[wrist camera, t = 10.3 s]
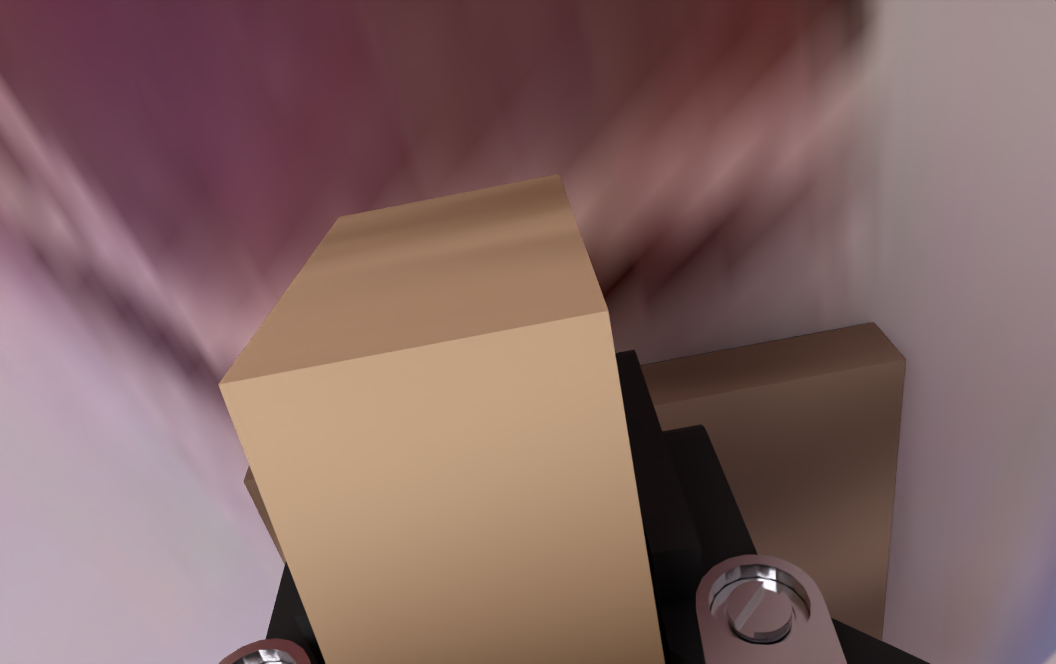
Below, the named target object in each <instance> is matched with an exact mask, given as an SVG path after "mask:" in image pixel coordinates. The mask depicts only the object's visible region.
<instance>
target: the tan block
mask: <svg viewBox="0 0 1056 664" xmlns="http://www.w3.org/2000/svg"><path fill="white" fill-rule="evenodd" d="M218 385H219V388H220V390H221V393H222V395H223V398H224V401H225V403H226V406H227V408H228V411H229V413H230V416H231V419H232V421H233V424H234V426H235V429H236V432H237V434H238V437H239V439H240V442H241V445H242V447H243V450H244V452H245V455H246V458H247V460H248V463H249V465H250V468H251V471H252V473H253V476H254V478H255V481H256V484H257V486H258V489H259V491H260V494H261V497H262V499H263V502H264V504H265V507H266V510H267V512H268V515H269V517H270V520H271V523H272V525H273V528H274V530H275V533H276V535H277V538H278V541H279V543H280V546H281V548H282V551H283V554H284V556H285V559H286V561H287V564H288V567H289V569H290V572H291V574H292V577H293V580H294V582H295V585H296V587H297V590H298V593H299V595H300V598H301V600H302V603H303V606H304V608H305V611H306V613H307V616H308V619H309V621H310V624H311V626H312V629H313V632H314V634H315V637H316V639H317V642H318V645H319V647H320V650H321V652H322V655H323V658H324V660H325V663H326V664H665V661H664V655H663V649H662V642H661V636H660V630H659V624H658V617H657V611H656V605H655V599H654V593H653V586H652V580H651V574H650V568H649V561H648V555H647V549H646V543H645V536H644V530H643V524H642V518H641V511H640V505H639V499H638V493H637V487H636V480H635V474H634V468H633V462H632V455H631V449H630V443H629V437H628V431H627V424H626V418H625V412H624V406H623V399H622V393H621V387H620V381H619V374H618V368H617V362H616V356H615V350H614V343H613V337H612V331H611V325H610V318H609V312H608V309H607V306H606V303H605V300H604V297H603V295H602V292H601V289H600V286H599V284H598V281H597V278H596V275H595V273H594V270H593V267H592V264H591V261H590V259H589V256H588V253H587V250H586V248H585V245H584V242H583V239H582V236H581V234H580V231H579V228H578V225H577V223H576V220H575V217H574V214H573V211H572V209H571V206H570V203H569V200H568V198H567V195H566V192H565V189H564V187H563V184H562V181H561V178H560V175H559V174H556V175H551V176H545V177H540V178H535V179H530V180H525V181H520V182H515V183H510V184H505V185H500V186H495V187H490V188H484V189H479V190H474V191H469V192H464V193H459V194H454V195H449V196H444V197H439V198H434V199H429V200H423V201H418V202H413V203H408V204H403V205H398V206H393V207H388V208H383V209H378V210H373V211H368V212H362V213H357V214H352V215H347V216H342V217H339V218H338V219H337V221H336V222H335V223H334V225H333V226H332V227H331V229H330V230H329V232H328V233H327V234H326V236H325V237H324V239H323V240H322V241H321V243H320V244H319V246H318V247H317V248H316V250H315V251H314V252H313V254H312V255H311V257H310V258H309V259H308V261H307V262H306V264H305V265H304V266H303V268H302V269H301V271H300V272H299V273H298V275H297V276H296V277H295V279H294V280H293V282H292V283H291V284H290V286H289V287H288V289H287V290H286V291H285V293H284V294H283V296H282V297H281V298H280V300H279V301H278V302H277V304H276V305H275V307H274V308H273V309H272V311H271V312H270V314H269V315H268V316H267V318H266V319H265V321H264V322H263V323H262V325H261V326H260V327H259V329H258V330H257V332H256V333H255V334H254V336H253V337H252V339H251V340H250V341H249V343H248V344H247V346H246V347H245V348H244V350H243V351H242V352H241V354H240V355H239V357H238V358H237V359H236V361H235V362H234V364H233V365H232V366H231V368H230V369H229V371H228V372H227V373H226V375H225V376H224V377H223V379H222V380H221V382H220V383H219V384H218Z"/></svg>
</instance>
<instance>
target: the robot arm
mask: <svg viewBox="0 0 1056 664" xmlns="http://www.w3.org/2000/svg"><path fill="white" fill-rule="evenodd" d="M615 356H616V362H617V368H618V374H619V381H620V387H621V393H622V399H623V406H624V412H625V418H626V424H627V431H628V437H629V443H630V449H631V455H632V462H633V468H634V474H635V480H636V487H637V493H638V499H639V505H640V511H641V518H642V524H643V530H644V536H645V543H646V549H647V555H648V561H649V568H650V574H651V580H652V586H653V593H654V599H655V605H656V611H657V617H658V624H659V630H660V636H661V642H662V649H663V655H664V661H665V664H930V663H928V662H925V661H923V660H921V659H919V658H917V657H915V656H913V655H910V654H908V653H906V652H904V651H902V650H900V649H898V648H895V647H893V646H891V645H889V644H887V643H885V642H883V641H880V640H878V639H876V638H874V637H872V636H870V635H868V634H866V633H863V632H861V631H859V630H857V629H855V628H853V627H851V626H848V625H846V624H844V623H842V622H840V621H838V620H836V619H833V618H831V617H830V614H829V611H828V609H827V606H826V603H825V600H824V597H823V595H822V593H821V592H820V590H819V588H818V586H817V585H816V583H815V581H814V580H813V579H812V578H811V577H810V576H808V575H807V574H806V573H805V572H804V571H803V570H802V569H801V568H799V567H797V566H795V565H793V564H791V563H789V562H788V561H786V560H784V559H780V558H776V557H772V556H768V555H758V554H757V551H756V549H755V546H754V544H753V542H752V539H751V537H750V534H749V532H748V529H747V527H746V525H745V522H744V520H743V517H742V515H741V513H740V510H739V508H738V505H737V503H736V501H735V498H734V496H733V493H732V491H731V488H730V486H729V484H728V481H727V479H726V476H725V474H724V472H723V469H722V467H721V464H720V462H719V460H718V457H717V455H716V452H715V450H714V447H713V445H712V443H711V440H710V438H709V435H708V433H707V431H706V429H705V427H704V426H703V425H702V424H700V425H695V426H689V427H684V428H678V429H673V430H667V431H662V429H661V426H660V423H659V420H658V417H657V414H656V411H655V408H654V405H653V402H652V399H651V396H650V393H649V390H648V387H647V384H646V381H645V378H644V375H643V373H642V370H641V367H640V364H639V361H638V358H637V355H636V352H635V350H630V351H625V352H619V353H615ZM219 664H326V663H325V660H324V658H323V655H322V652H321V650H320V647H319V645H318V642H317V639H316V637H315V634H314V632H313V629H312V626H311V624H310V621H309V619H308V616H307V613H306V611H305V608H304V606H303V603H302V600H301V598H300V595H299V593H298V590H297V587H296V585H295V582H294V580H293V577H292V574H291V572H290V569H289V567H288V564H287V561H286V563H285V567H284V571H283V575H282V578H281V582H280V586H279V590H278V594H277V598H276V601H275V605H274V609H273V613H272V617H271V621H270V624H269V628H268V632H267V636H266V640H259V641H257V642H254V643H251V644H249V645H246V646H243V647H241V648H240V649H238V650H236V651H235V652H233V653H232V654H230V655H229V656H227V657H225V658H224V659H223V660H222V661H221V662H220V663H219Z"/></svg>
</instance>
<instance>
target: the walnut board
mask: <svg viewBox="0 0 1056 664" xmlns="http://www.w3.org/2000/svg"><path fill="white" fill-rule="evenodd" d="M905 364H906V359H905V358H904V357H903V355H902V354H901V353H900V352H899V351H898V350H897V349H896V347H895V346H894V345H893V344H892V343H891V342H890V340H889V339H888V338H887V337H886V336H885V335H884V334H883V332H882V331H881V330H880V329H879V328H878V327H877V325H876V324H875V323H874V322H873V323H867V324H862V325H857V326H851V327H846V328H841V329H835V330H830V331H824V332H819V333H814V334H808V335H803V336H798V337H792V338H787V339H782V340H776V341H771V342H765V343H760V344H755V345H749V346H744V347H739V348H733V349H728V350H722V351H717V352H712V353H706V354H701V355H696V356H690V357H685V358H680V359H674V360H669V361H663V362H658V363H653V364H647V365H642V366H640V367H641V370H642V373H643V375H644V378H645V381H646V384H647V387H648V390H649V393H650V396H651V399H652V402H653V405H654V408H655V411H656V414H657V417H658V420H659V423H660V426H661V429H662V431H667V430H673V429H678V428H684V427H689V426H695V425H700V424H702V425H703V426H704V427H705V429H706V431H707V433H708V435H709V438H710V440H711V443H712V445H713V447H714V450H715V452H716V455H717V457H718V460H719V462H720V464H721V467H722V469H723V472H724V474H725V476H726V479H727V481H728V484H729V486H730V488H731V491H732V493H733V496H734V498H735V501H736V503H737V505H738V508H739V510H740V513H741V515H742V517H743V520H744V522H745V525H746V527H747V529H748V532H749V534H750V537H751V539H752V542H753V544H754V546H755V549H756V551H757V554H758V555H768V556H772V557H776V558H780V559H784V560H786V561H788V562H789V563H791V564H793V565H795V566H797V567H799V568H801V569H802V570H803V571H804V572H805V573H806V574H807V575H808V576H810V577H811V578H812V579H813V580H814V581H815V583H816V585H817V586H818V588H819V590H820V592H821V593H822V595H823V597H824V600H825V603H826V606H827V609H828V611H829V614H830V617H831V618H833V619H836V620H838V621H840V622H842V623H844V624H846V625H848V626H851V627H853V628H855V629H857V630H859V631H861V632H863V633H866V634H868V635H870V636H872V637H874V638H876V639H878V640H880V641H882V633H883V621H884V610H885V598H886V586H887V575H888V563H889V551H890V540H891V528H892V516H893V504H894V493H895V481H896V469H897V458H898V446H899V434H900V423H901V411H902V399H903V387H904V376H905ZM244 483H245V485H246V487H247V489H248V491H249V493H250V495H251V497H252V499H253V501H254V503H255V506H256V508H257V510H258V512H259V514H260V516H261V518H262V520H263V522H264V524H265V526H266V528H267V530H268V532H269V534H270V536H271V538H272V540H273V542H274V544H275V546H276V548H277V550H278V552H279V554H280V556H281V558H282V560H283V562H284V564H285V563H286V559H285V556H284V554H283V551H282V548H281V546H280V543H279V541H278V538H277V535H276V533H275V530H274V528H273V525H272V523H271V520H270V517H269V515H268V512H267V510H266V507H265V504H264V502H263V499H262V497H261V494H260V491H259V489H258V486H257V484H256V481H255V478H254V476H253V473H252V471H251V468H250V465H249V468H248V471H247V473H246V476H245V479H244Z"/></svg>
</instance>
